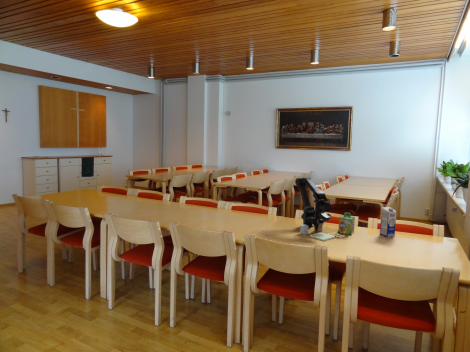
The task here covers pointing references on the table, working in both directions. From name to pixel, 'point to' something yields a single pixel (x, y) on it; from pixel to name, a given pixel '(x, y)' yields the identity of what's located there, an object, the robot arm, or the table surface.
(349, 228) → the chalk box
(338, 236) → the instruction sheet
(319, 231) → the walnut block
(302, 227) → the gray block
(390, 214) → the milk carton
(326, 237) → the plate
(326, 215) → the robot arm
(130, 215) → the table surface
